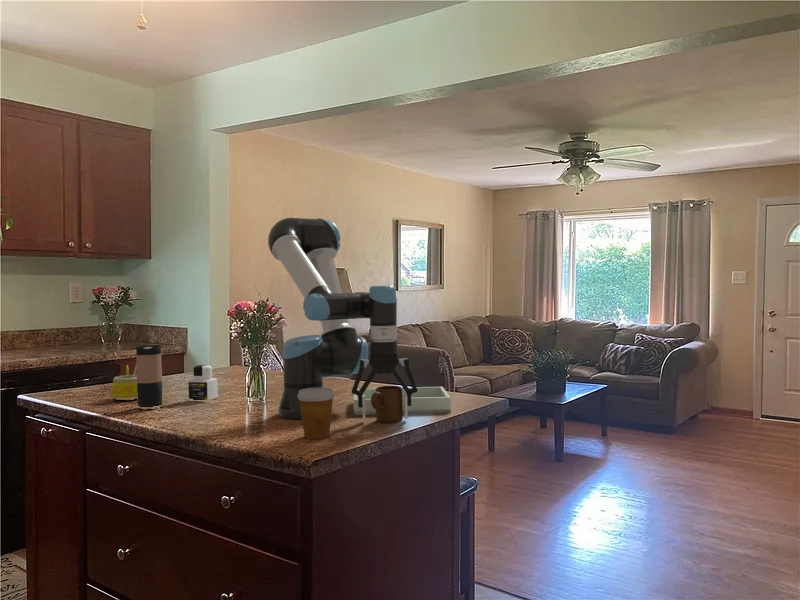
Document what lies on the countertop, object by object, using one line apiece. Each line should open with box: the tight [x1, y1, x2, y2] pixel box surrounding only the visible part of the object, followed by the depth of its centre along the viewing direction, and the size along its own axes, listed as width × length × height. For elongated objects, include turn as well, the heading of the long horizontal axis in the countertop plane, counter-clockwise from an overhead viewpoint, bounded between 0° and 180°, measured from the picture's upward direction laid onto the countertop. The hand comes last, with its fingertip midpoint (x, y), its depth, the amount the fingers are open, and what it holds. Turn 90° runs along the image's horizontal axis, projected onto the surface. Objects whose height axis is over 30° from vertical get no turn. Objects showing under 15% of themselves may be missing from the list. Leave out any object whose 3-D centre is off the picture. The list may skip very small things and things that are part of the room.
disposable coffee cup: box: [297, 387, 336, 440], centre depth 167 cm, size 10×10×12 cm
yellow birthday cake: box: [111, 363, 138, 398], centre depth 228 cm, size 13×11×12 cm
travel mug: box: [135, 344, 163, 407], centre depth 210 cm, size 8×8×20 cm
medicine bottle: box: [187, 364, 219, 400], centre depth 223 cm, size 7×7×12 cm
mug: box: [371, 385, 404, 424], centre depth 183 cm, size 12×8×9 cm, turn 147°
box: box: [353, 386, 452, 416], centre depth 204 cm, size 29×20×4 cm
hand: (385, 418), depth 183 cm, fingers open, 11 cm apart
